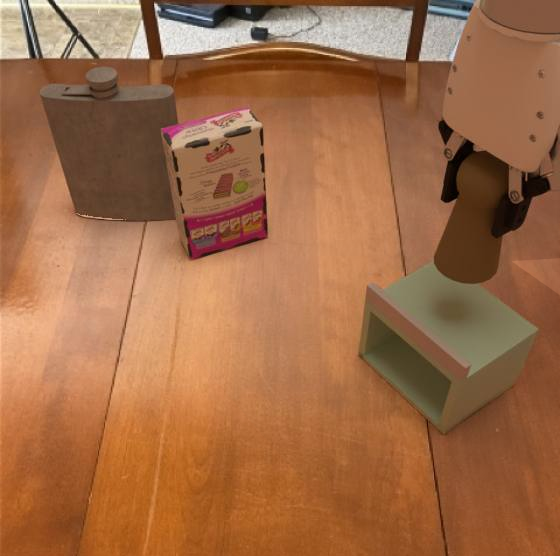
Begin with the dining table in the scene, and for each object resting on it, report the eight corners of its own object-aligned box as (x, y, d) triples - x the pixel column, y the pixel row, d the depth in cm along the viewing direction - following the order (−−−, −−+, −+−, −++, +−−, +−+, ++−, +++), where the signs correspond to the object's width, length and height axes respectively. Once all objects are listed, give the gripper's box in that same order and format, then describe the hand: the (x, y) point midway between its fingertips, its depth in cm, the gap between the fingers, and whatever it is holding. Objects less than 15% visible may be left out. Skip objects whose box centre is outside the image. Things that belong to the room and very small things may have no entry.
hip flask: (191, 204, 95) (172, 63, 79) (188, 223, 92) (168, 81, 76) (78, 202, 95) (37, 62, 79) (71, 221, 92) (28, 80, 77)
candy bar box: (254, 216, 93) (249, 104, 80) (269, 237, 90) (266, 125, 77) (176, 238, 90) (158, 126, 77) (189, 261, 87) (172, 148, 74)
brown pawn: (506, 282, 62) (541, 180, 54) (441, 285, 62) (466, 184, 54) (488, 239, 66) (518, 138, 58) (427, 242, 66) (448, 141, 57)
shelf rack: (427, 312, 81) (444, 241, 73) (515, 384, 74) (545, 315, 66) (357, 355, 77) (366, 284, 69) (443, 435, 70) (465, 368, 62)
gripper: (685, 25, 43) (586, 247, 57) (483, -57, 51) (440, 153, 66) (611, 61, 40) (526, 285, 54) (410, -33, 49) (382, 182, 63)
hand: (479, 211), depth 60 cm, fingers closed on brown pawn, 5 cm apart
